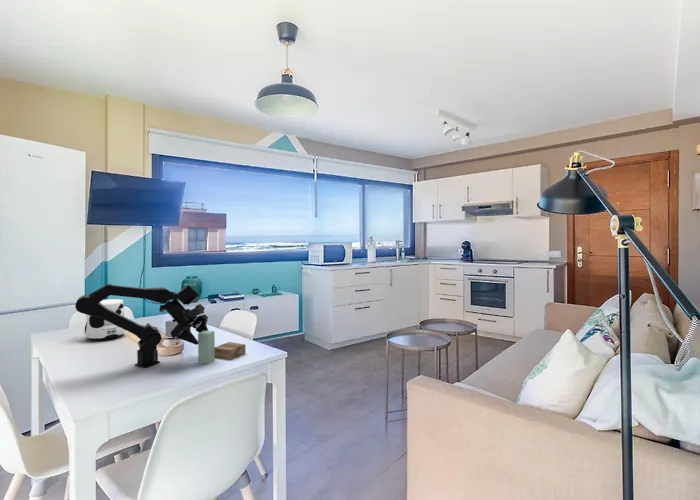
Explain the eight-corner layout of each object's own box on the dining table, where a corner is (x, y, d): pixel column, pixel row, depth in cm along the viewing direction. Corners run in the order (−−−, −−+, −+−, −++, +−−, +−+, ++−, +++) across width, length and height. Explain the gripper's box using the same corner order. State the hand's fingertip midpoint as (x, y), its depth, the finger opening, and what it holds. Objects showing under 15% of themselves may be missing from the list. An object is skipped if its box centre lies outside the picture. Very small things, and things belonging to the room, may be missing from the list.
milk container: (101, 332, 194) (100, 298, 193) (133, 333, 193) (133, 298, 192) (75, 342, 177) (74, 304, 176) (111, 342, 176) (110, 305, 175)
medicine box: (185, 336, 186) (185, 319, 186) (180, 339, 182) (180, 321, 182) (170, 336, 187) (170, 319, 187) (165, 338, 183) (165, 321, 182)
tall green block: (208, 363, 147) (208, 333, 146) (198, 363, 148) (198, 333, 147) (214, 360, 151) (214, 331, 151) (204, 359, 152) (204, 330, 152)
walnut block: (230, 359, 151) (230, 350, 151) (214, 356, 155) (213, 347, 155) (245, 353, 160) (245, 344, 159) (229, 350, 163) (229, 341, 163)
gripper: (177, 303, 140) (204, 333, 139) (203, 295, 159) (228, 321, 158) (158, 323, 142) (185, 353, 141) (186, 313, 160) (211, 339, 159)
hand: (204, 340), depth 150 cm, fingers open, 9 cm apart
